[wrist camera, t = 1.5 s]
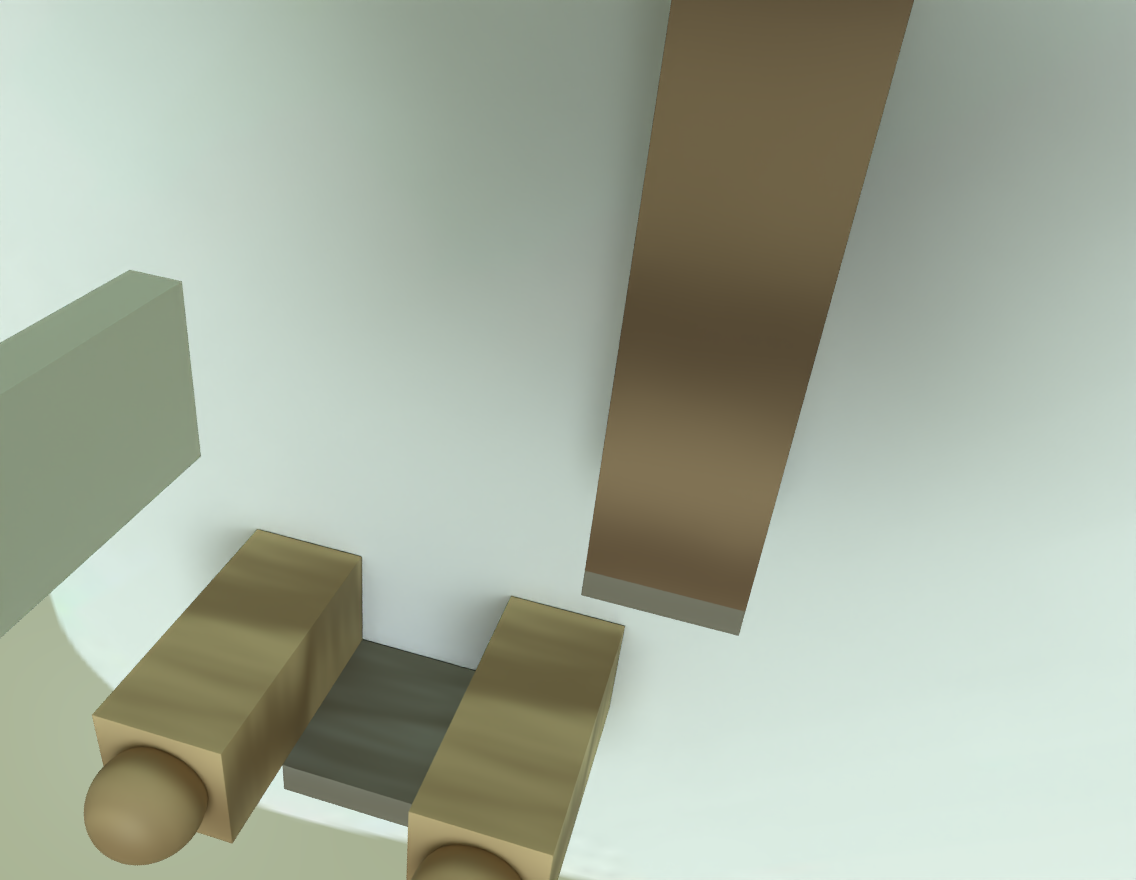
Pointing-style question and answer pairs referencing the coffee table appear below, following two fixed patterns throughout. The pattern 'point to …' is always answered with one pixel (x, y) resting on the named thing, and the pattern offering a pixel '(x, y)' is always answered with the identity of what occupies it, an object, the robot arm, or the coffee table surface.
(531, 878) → the knobbed wooden twin blocks
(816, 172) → the rail
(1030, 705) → the coffee table surface
